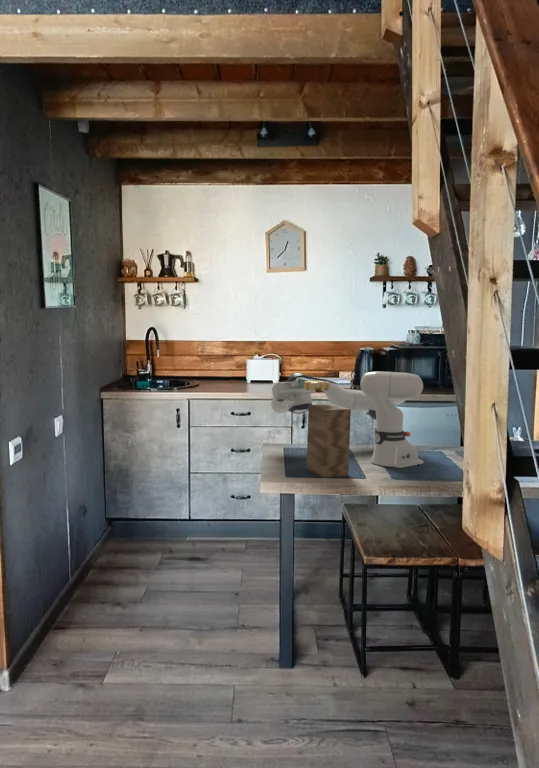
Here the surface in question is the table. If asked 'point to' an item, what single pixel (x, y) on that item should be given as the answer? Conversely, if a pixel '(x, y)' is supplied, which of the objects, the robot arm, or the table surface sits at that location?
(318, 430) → the walnut stand
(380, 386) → the robot arm
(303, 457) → the table surface
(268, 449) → the table surface
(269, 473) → the table surface
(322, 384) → the gear axle
